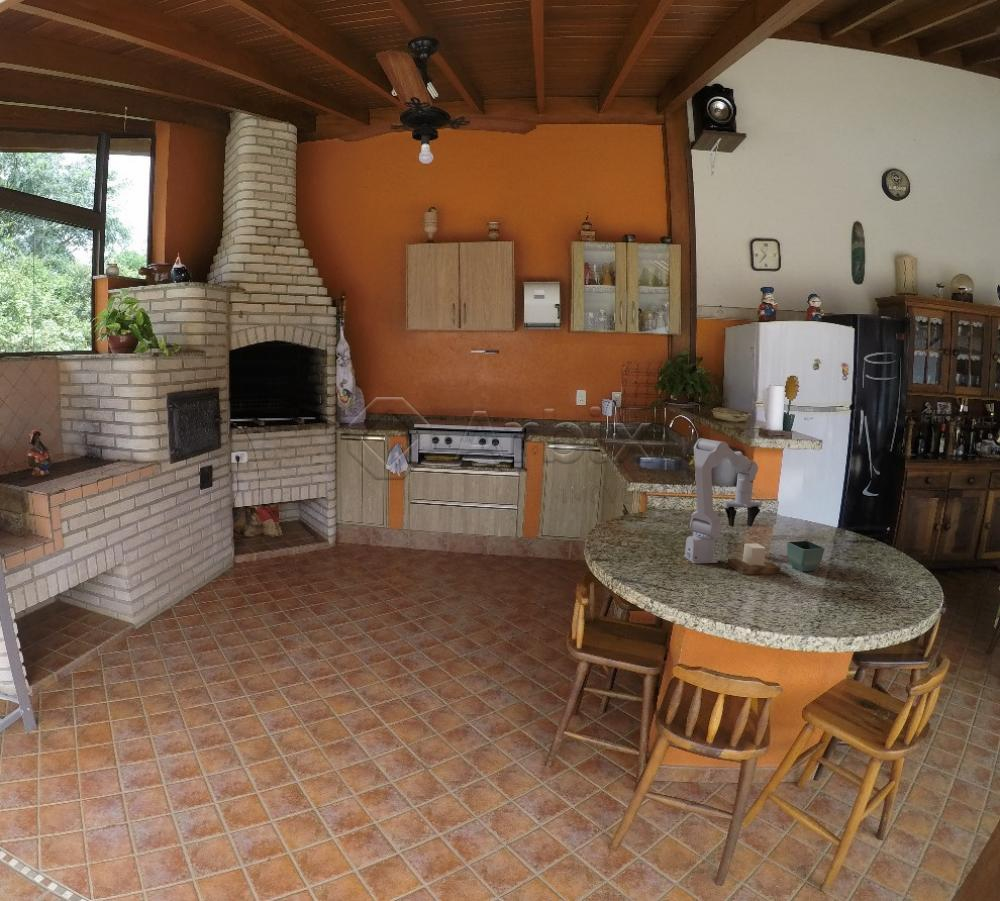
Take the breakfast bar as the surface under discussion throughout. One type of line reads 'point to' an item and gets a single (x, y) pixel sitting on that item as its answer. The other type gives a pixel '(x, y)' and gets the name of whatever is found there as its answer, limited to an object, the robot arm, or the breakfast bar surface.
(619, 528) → the breakfast bar surface
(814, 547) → the flower pot
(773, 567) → the walnut base
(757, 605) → the breakfast bar surface
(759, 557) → the cream block
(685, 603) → the breakfast bar surface
